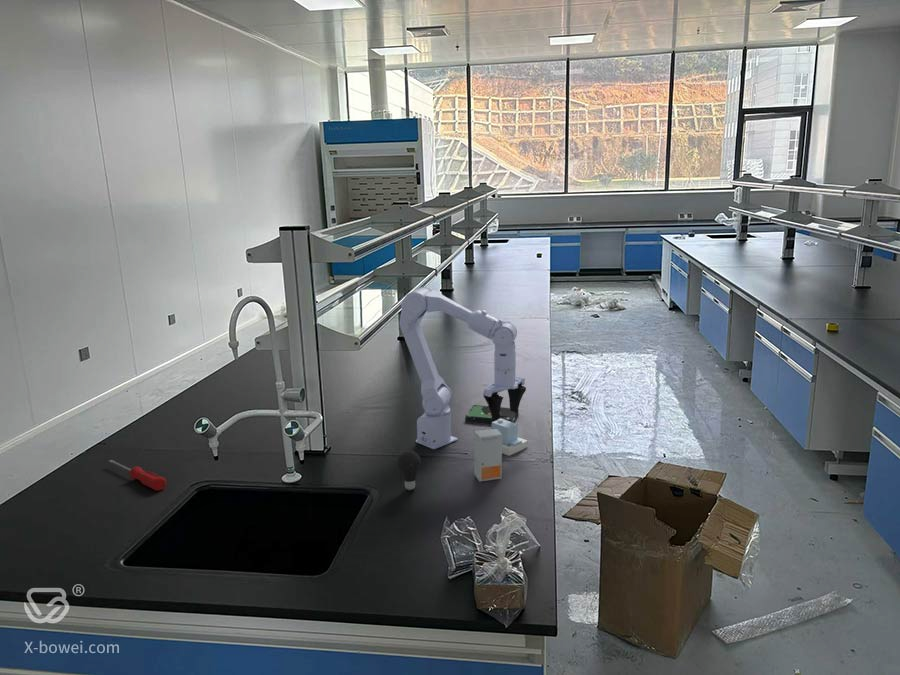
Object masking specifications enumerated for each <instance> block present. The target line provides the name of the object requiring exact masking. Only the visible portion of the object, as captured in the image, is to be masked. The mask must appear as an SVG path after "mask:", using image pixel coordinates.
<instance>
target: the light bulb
mask: <svg viewBox="0 0 900 675" xmlns="http://www.w3.org/2000/svg"><path fill="white" fill-rule="evenodd" d="M421 466H422V460H421V457H420V455H419V454H418V453H417V452H415V451H414V450H411V449H410V450H406V451H403V452H401V453H400V454H399V455H398V458H397V468H398V470H399V472H400V473H401V475H402V477H403V480H404V487H405V489H406V490H408V491H412V490H413V489H415V487H416V478H417V474H418V472H419V470H420V469H421Z"/></svg>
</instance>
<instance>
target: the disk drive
mask: <svg viewBox="0 0 900 675" xmlns="http://www.w3.org/2000/svg"><path fill="white" fill-rule="evenodd" d="M468 410H469V411H468V412H467V413H466V414H465V418H464V420H465V421H464V422H465V423H471V424H480V425H490V426H492V422H494V421H497V420H496V419H494V418H492V415H491V412H490V408H489V406H488V405H483V404H482V405H480V404H474V405H472V407H471V408H470V409H468ZM519 411H520V410H519V408H518V411H517V412H513V411H510V407H504V406H503V407H500V417H499V419H504V420H507V421H510V422H513V423H515V422H516V420H517V419H518V417H519Z"/></svg>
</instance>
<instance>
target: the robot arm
mask: <svg viewBox="0 0 900 675" xmlns="http://www.w3.org/2000/svg"><path fill="white" fill-rule="evenodd" d="M400 307H401V310H400V317H399V327H400V330H401V332H402V335H403V338H404V340H405V343H406V345H407V348H408V351H409V353H410V356H411V359H412V361H413V364H414V366H415V367H414V368H415V369H416V372H417V375H418V378H419V380H420V382H421V388H420V394H421V396H422V402H421V403H422V404H421V405H422V408H423V410H424V413H423V414H422V415H421V416H419V417H418V418H417V420H416V437H417V438H416V440H415V443H417V444H420V445H422V446H425V447H427V448H429V449H432V450H436V449H438V448H441V447H444V446H447V445H448V444H451V443H453V442H456V441H458V437H455V436H452V426H451V425H452V421H451V419H452V418H451V415H452V414H451V408H450V405H449V403H450V402H451V401H452V400H453V393H452V389H451V388H450V387H449V386H448V385H447V384H446V382H445V381H444V380H445V379H444V378H443V377H441V376H440V375H439V373H438V370H437V367H436V364H435V361H434V360H433V357H432V353H431V351H430V348H429V346H428V345H429V344H428V343H427V340H426V338H425V335H424V332H423V330H422V326H421V324H420V323H421V322H422V320H423V317H424V316H425V314H427V313H434V312H442V313H444V314H447V315H448V316H451V317H454V318H456V319H458V320H460V321H463V322H465V323H466V324H467V327H468V329H469V330H471V331H473V332H475V333H477V334H478V335H480V336H482V337H484V338H487V340H488V339H489V340H492V343H493V344H494V355H493V356H494V357H493V360H494V362H493V363H494V365H493V366H494V368H493V370H494V371H493V372H494V374H493V376H494V377H493V378H494V379H493V380H494V382H492V383H491V384H489V385H488V386H487V387H484V388H483V399H484V400H485V402H486V403H487V406H489V408H490V412H491V415H492V418H494V419H496V420H498V419H499V417H500V407H501V406H502V403H503V400H504V397H503V396H500V394H498V393H501V392H504V391H507V395H508V398H509V400H508V401H509V408H510V411H513V412H517V411H518V409H519V407H520V404H521V400H522V398H523V395H524V394H525V393H526V391H527V388H526V386H524V385H526V383H525V381H526V379H525V377H523V376H517V377H516V357H517V356H516V353H517V352H516V341H515V340H516V338H517V336H518V330H517V327H516V326H515V325H514V324H513V323H512V322H510V321H504V320H503V319H501V318H499V319H498V318H496V317H494V316H492V315H490V314H489V313H488V311H487V310H485V309H483V310H479V309H477V310H475V311H472V310H470V309H468V308H466V307H465V306H463V305H461V304H460V303H458V302H455V301H454V300H452V299H451V298H449V297H446V296H445V295H444V294H442V293H440V292H438V291H437V290H433V289H431V288H430V287H427V286H421V287H417V289H415V290H414V291H411V292H409V293H407V294H406V295H405V297H404V298H403V300H402V302H401V303H400Z"/></svg>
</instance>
